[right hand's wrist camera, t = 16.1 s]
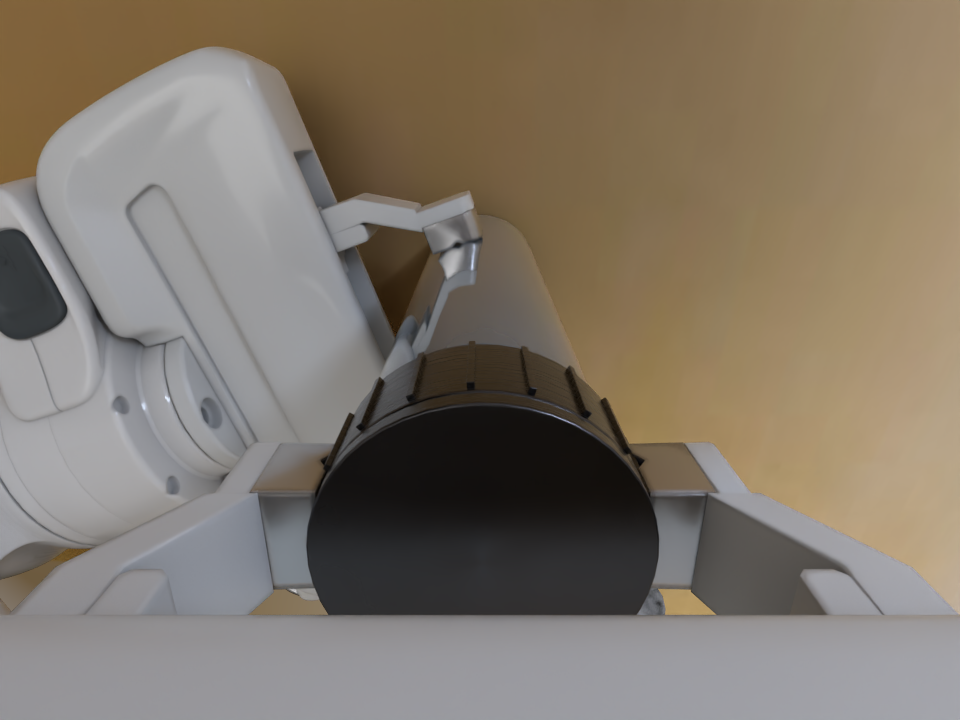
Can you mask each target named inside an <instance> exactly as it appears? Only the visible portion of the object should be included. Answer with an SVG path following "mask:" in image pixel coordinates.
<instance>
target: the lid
mask: <svg viewBox="0 0 960 720" xmlns="http://www.w3.org/2000/svg"><path fill="white" fill-rule="evenodd" d="M631 452H632V450H631V448H630V446H629V443H628V441H627V439H626V437H625V435H624V433H623V431H622V429H621V427H620V425H619V423H618V421H617V418H616V416H615V414H614V412H613V410H612V408H611V406H610V404H609V402H608V400H607V399H606V398H603V399H602V400H601V398H600V397H599V396H598V395H597V394H596V393H595V391H594V390H593V389H592V388H591V387H590V386H589V385H588V384H587V383H586V382H585V381H583V380H582V379H581V378H580V377H578V376H577V374H576V371H575V369H574V368H573V367H572V366H570V365H569V366H568V368H566V367H564V366H562V365H561V364H559V363H557V362H556V361H553V360H551V359H549V358H546V357H544V356H542V355H539V354H537V353H534V352H530V351H529V350H528V347H526V346H521V349H520V348H515V347H509V346H502V345H488V344H475V341H469V344H468V345H463V346H455V347H451V348H446V349H441V350H437V351H434V352H431V353H429V354H426V355H425V354H424V352H421V353H418V354H417V358H416V359H414V360H412V361H410V362H408V363H406V364H404V365H402V366H400V367H399V368H398V369H396V370H395V371H393V372H392V373H390V374H389V375H387V376H386V377H385V378H384V379H382V378H381V377H378V378H377V379H376V380H375V382H374V385H373V387H372V390H371V391H370V392H369V393H368V395H367V396H366V397H365V398H364V399H363V401H362V402H361V403H360V405H359V407H358V408H357V410H356V412H355V413H354V414H352V413H350V412H349V414H348V416H347V418H346V420H345V422H344V424H343V426H342V428H341V431H340V433H339V435H338V437H337V439H336V441H335V443H334V446H333V448H332V450H331V452H330V454H329V456H328V458H327V461H326V463H325V465H324V467H323V469H324V470H326V471H328V472H327V474H326V477H325V479H324V481H323V483H322V485H321V488H320V490H319V492H318V495H317V497H316V499H315V502H314V504H313V507H312V510H311V514H310V518H309V522H308V526H307V539H306V551H307V561H308V567H309V571H310V575H311V579H312V583H313V586H314V588H315V590H316V593H317V595H318V597H319V600H320V602H321V603H322V605H323V607H324V608H325V610H326V611H327V613H328V615H637V613H638V612H639V611H640V609H641V607H642V605H643V604H644V602H645V600H646V598H647V596H648V594H649V592H650V589H651V586H652V583H653V580H654V578H655V574H656V568H657V563H658V558H659V532H658V525H657V518H656V515H655V512H654V509H653V506H652V502H651V499H650V497H649V491H648V489H647V487H646V485H645V483H644V480H643V478H642V476H641V474H640V472H639V467H640V466H639V464H638V462H637V460H636V458H635V456H633V455H631Z"/></svg>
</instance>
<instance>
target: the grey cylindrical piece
mask: <svg viewBox="0 0 960 720" xmlns="http://www.w3.org/2000/svg"><path fill="white" fill-rule="evenodd" d="M478 217H479V220H480V223H481V226H482V229H483V236H482V237H480V238H479V239H477V240H474V241H472V242H469V243H464V244H462V243H458V242H456V243H455V245H454V246H453V247H452V248H451V249H449V250H447V251H444V252H441V253H438V254H435V255H433V253H432V251H431V252H430V255H429V257H428V260H427V262H426V264H425V267H424V269H423V272H422V274H421V277H420V279H419V281H418V284H417V286H416V289H415V291H414V294H413V296H412V298H411V301H410V303H409V306H408V308H407V311H406V313H405V316H404V318H403V320H402V323H401V325H400V328H399V330H398V333H397V335H396V337H395V340H394V342H393V345H392V347H391V350H390V352H389V355H388V357H387V359H386V362H385V364H384V367H383V369H382V372H381V374H380V376H379V377H381V378H382V379H384V378H385V377H386V376H387V375H389V374H390V373H392V372H393V371H395V370H396V369H398V368H399V367H400V366H402V365H404V364H406V363H408V362H410V361H412V360H414V359H416V358H417V354H418V353H421V352H424V354H425V355H426V354H429V353H431V352H434V351H437V350H441V349H446V348H451V347H455V346H463V345H468V344H469V341H475V344H488V345H502V346H509V347H515V348H520V349H521V346H526V347H528V350H529V351H530V352H534V353H537V354H539V355H542V356H544V357H546V358H549V359H551V360H553V361H556V362H557V363H559V364H561V365H562V366H564V367H566V368H568V366H569V365H570V366H572V367H573V368H574V369H575V371H576V374H577V376H578V377H580V378H581V379H582V380H583V381H585V382H586V383H587V381H586V379H585V377H584V374H583V372H582V370H581V367H580V365H579V362H578V360H577V358H576V355H575V353H574V351H573V348H572V346H571V343H570V341H569V339H568V336H567V334H566V332H565V329H564V327H563V324H562V322H561V320H560V317H559V315H558V313H557V310H556V308H555V305H554V303H553V301H552V298H551V296H550V294H549V291H548V289H547V286H546V284H545V282H544V279H543V277H542V275H541V272H540V270H539V267H538V265H537V263H536V260H535V258H534V256H533V253H532V251H531V249H530V246H529V244H528V242H527V240H526V239H525V237H524V236H523V235H522V233H521V232H520V231H519V230H518V229H517V228H516V227H514V226H513V225H512V224H510V223H509V222H507V221H505V220H503V219H500V218H498V217H494V216H489V215H478Z"/></svg>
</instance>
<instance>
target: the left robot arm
mask: <svg viewBox="0 0 960 720" xmlns="http://www.w3.org/2000/svg"><path fill="white" fill-rule="evenodd" d="M378 225H381V226H387V227H393V228H399V229H405V230H411V231H417V232H422V233H423V231H424V234H425V236H426V239H427V241H428V243H429V246H430V248H431V251H432V253H433V255H435V254H438V253H441V252H444V251H447V250H449V249H451V248H452V247H453V246H454V245H455V243H456V242H458V243H462V244H464V243H469V242H472V241H474V240H477V239H479V238H480V237H482V236H483V229H482V226H481V223H480V220H479V217H478V214H477V211H476V208H475V205H474V202H473V199H472V196H471V193H470V191H465V192H461V193H458V194H455V195H452V196H450V197H447V198H444V199H441V200H439V201H436V202H433V203H430V204H427V205H425V206H421V204H420V203H417V202H411V201H406V200H401V199H396V198H391V197H386V196H381V195H376V194H371V193H366V192H365V193H363V194H360V195H357V196H355V197H352V198H349V199H347V200H344V201H341V202H339V203H338V202H337V200H336V198H335V195H334V193H333V191H332V188H331V186H330V184H329V181H328V179H327V177H326V174H325V172H324V170H323V167H322V165H321V163H320V160H319V158H318V156H317V153H316V151H315V149H314V146H313V144H312V142H311V139H310V137H309V135H308V132H307V130H306V128H305V125H304V123H303V121H302V118H301V116H300V114H299V112H298V109H297V107H296V105H295V102H294V100H293V97H292V95H291V93H290V90H289V88H288V85H287V83H286V81H285V79H284V77H283V75H282V74H281V73H280V71H279V70H277V69H276V68H275V67H274V66H272V65H270V64H268V63H265V62H263V61H261V60H259V59H257V58H255V57H253V56H251V55H248V54H246V53H244V52H241V51H238V50H234V49H230V48H226V47H216V46H214V47H204V48H201V49H197V50H193V51H191V52H188V53H186V54H184V55H181V56H179V57H176V58H174V59H172V60H170V61H168V62H166V63H164V64H162V65H160V66H158V67H156V68H154V69H152V70H150V71H148V72H146V73H144V74H142V75H140V76H138V77H136V78H135V79H133V80H131V81H129V82H127V83H126V84H124V85H122V86H120V87H119V88H117V89H115V90H114V91H112V92H110V93H109V94H107V95H105V96H104V97H102V98H100V99H99V100H97V101H96V102H94V103H93V104H91V105H90V106H88V107H87V108H85V109H84V110H82V111H81V112H79V113H78V114H76V115H75V116H73V117H72V118H71V119H70V120H68V121H67V122H66V123H64V124H63V125H62V126H61V127H60V128H59V129H58V130H57V131H56V132H55V133H54V134H53V135H52V136H51V137H50V139H49V140H48V142H47V143H46V145H45V146H44V148H43V150H42V152H41V155H40V157H39V160H38V164H37V170H36V176H33V177H28V178H24V179H19V180H15V181H11V182H7V183H4V184H0V580H1V579H5V578H8V577H12V576H15V575H18V574H21V573H24V572H26V571H29V570H31V569H34V568H36V567H39V566H41V565H43V564H45V563H47V562H49V561H50V560H52V559H54V558H55V557H57V556H58V555H60V554H61V553H62V552H64V551H65V550H67V549H68V548H70V549H89V548H95V547H97V546H99V545H101V544H103V543H105V542H107V541H109V540H111V539H113V538H115V537H117V536H119V535H121V534H123V533H125V532H127V531H129V530H131V529H133V528H135V527H137V526H139V525H141V524H143V523H145V522H148V521H150V520H152V519H154V518H156V517H158V516H160V515H162V514H164V513H166V512H168V511H170V510H172V509H174V508H176V507H178V506H180V505H182V504H184V503H186V502H188V501H190V500H192V499H194V498H196V497H198V496H200V495H202V494H204V493H215V492H216V490H217V489H218V488H219V486H220V485H221V483H222V482H223V481H224V479H225V478H226V477H227V475H228V474H229V473H230V471H231V470H232V469H233V467H234V466H235V465H236V463H237V462H238V461H239V459H240V458H241V456H242V455H243V454H244V452H245V451H246V450H247V448H248V447H249V446H250V445H251V444H252V443H260V442H282V443H335V441H336V439H337V437H338V435H339V433H340V431H341V428H342V426H343V424H344V422H345V420H346V418H347V416H348V414H349V412H350V413H352V414H354V413H355V412H356V410H357V408H358V407H359V405H360V403H361V402H362V401H363V399H364V398H365V397H366V396H367V395H368V393H369V392H370V391H371V390H372V387H373V385H374V382H375V380H376V379H377V378H378V377H379V376H380V374H381V372H382V369H383V367H384V364H385V362H386V359H387V357H388V355H389V352H390V350H391V347H392V345H393V342H394V340H395V336H394V333H393V331H392V329H391V326H390V324H389V322H388V319H387V317H386V315H385V312H384V310H383V308H382V305H381V303H380V301H379V298H378V296H377V294H376V291H375V289H374V287H373V284H372V282H371V280H370V277H369V275H368V273H367V270H366V268H365V266H364V263H363V261H362V259H361V256H360V254H359V252H358V249H357V247H356V245H358V244H361V243H364V242H366V241H368V240H369V239H370V238H371V237H372V236H373V235H374V234H375V233H376V232H377V231H378V229H379V226H378ZM286 590H288V591H289V592H291V593H293V594H296V595H298V596H300V597H301V598H302V599H304V600H309V601H314V600H319V597H318V595H317V593H316V590H315V588H310V589H286ZM10 613H11V611H10V609H9V608H8V607H7V606H6V605H5V604H4V602H3V601H2V600H1V599H0V615H9V614H10Z"/></svg>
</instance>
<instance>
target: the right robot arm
mask: <svg viewBox="0 0 960 720" xmlns="http://www.w3.org/2000/svg"><path fill="white" fill-rule="evenodd" d="M333 446H334V443H282V442H260V443H252V444H251V445H250V446H249V447H248V448H247V450H246V451H245V452H244V454H243V455H242V456H241V458H240V459H239V461H238V462H237V463H236V465H235V466H234V467H233V469H232V470H231V471H230V473H229V474H228V475H227V477H226V478H225V479H224V481H223V482H222V483H221V485H220V486H219V488H218V489H217V490H216V492H215V493H204V494H202V495H200V496H198V497H196V498H194V499H192V500H190V501H188V502H186V503H184V504H182V505H180V506H178V507H176V508H174V509H172V510H170V511H168V512H166V513H164V514H162V515H160V516H158V517H156V518H154V519H152V520H150V521H148V522H145V523H143V524H141V525H139V526H137V527H135V528H133V529H131V530H129V531H127V532H125V533H123V534H121V535H119V536H117V537H115V538H113V539H111V540H109V541H107V542H105V543H103V544H101V545H99V546H97V547H95V548H93V549H91V550H89V551H87V552H84V553H82V554H80V555H78V556H76V557H74V558H72V559H70V560H68V561H66V562H64V563H62V564H60V565H58V566H56V567H55V568H54V569H53V570H52V571H51V572H50V573H49V574H48V575H47V576H46V577H45V578H44V579H43V580H42V581H41V582H40V583H39V584H38V585H37V586H36V587H35V588H34V589H33V590H32V591H31V592H30V593H29V594H28V595H27V596H26V597H25V598H24V600H23V601H22V602H21V603H20V604H19V605H18V606H17V607H16V608H15V609H14V610H13V611H12V612H11V613H10V614H9V615H0V720H960V615H959V614H958V613H957V612H956V611H955V610H954V609H953V608H952V607H951V606H950V605H949V604H948V603H947V602H946V601H945V600H944V599H943V598H942V597H941V596H940V595H939V594H938V593H937V592H936V591H935V590H934V589H933V588H932V587H931V586H930V585H929V584H928V583H927V582H926V581H925V580H924V579H923V578H922V577H921V576H920V575H919V574H918V573H917V572H916V571H915V570H914V569H913V568H912V567H910V566H908V565H906V564H904V563H902V562H900V561H898V560H896V559H894V558H892V557H890V556H888V555H886V554H884V553H882V552H880V551H878V550H875V549H873V548H871V547H869V546H867V545H865V544H863V543H861V542H859V541H857V540H855V539H853V538H851V537H849V536H847V535H845V534H843V533H841V532H839V531H837V530H835V529H833V528H831V527H828V526H826V525H824V524H822V523H820V522H818V521H816V520H814V519H812V518H810V517H808V516H806V515H804V514H802V513H800V512H798V511H796V510H794V509H792V508H790V507H788V506H786V505H784V504H781V503H779V502H777V501H775V500H773V499H771V498H769V497H767V496H765V495H763V494H761V493H751V492H750V491H749V490H748V488H747V487H746V486H745V485H744V483H743V482H742V481H741V479H740V478H739V477H738V475H737V474H736V473H735V471H734V470H733V469H732V467H731V466H730V465H729V464H728V462H727V461H726V460H725V458H724V457H723V456H722V454H721V453H720V452H719V450H718V449H717V448H716V446H715V445H714V444H712V443H710V442H693V443H645V444H629V446H630V448H631V450H632V452H631V455H633V456H635V458H636V460H637V462H638V464H639V466H640V467H639V472H640V474H641V476H642V478H643V480H644V483H645V485H646V487H647V489H648V491H649V497H650V499H651V502H652V506H653V509H654V512H655V515H656V518H657V525H658V532H659V558H658V563H657V568H656V574H655V578H654V580H653V583H652V586H651V588H654V589H691V592H692V593H693V594H694V595H695V596H696V597H698V598H699V599H700V600H701V601H702V602H703V603H704V604H705V605H707V606H708V607H709V608H710V609H711V610H712V611H713V612H714V613H716V614H717V615H249V614H250V613H251V612H252V611H253V610H254V609H256V608H257V607H258V606H259V605H260V604H261V603H262V602H263V601H265V600H266V599H267V598H268V597H269V596H270V595H271V594H272V593H273V592H274V591H273V590H274V589H310V588H314V586H313V583H312V579H311V575H310V571H309V567H308V561H307V551H306V539H307V526H308V522H309V518H310V514H311V510H312V507H313V504H314V502H315V499H316V497H317V495H318V492H319V490H320V488H321V485H322V483H323V481H324V479H325V477H326V474H327V472H328V471H326V470H324V469H323V467H324V465H325V463H326V461H327V458H328V456H329V454H330V452H331V450H332V448H333Z"/></svg>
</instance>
